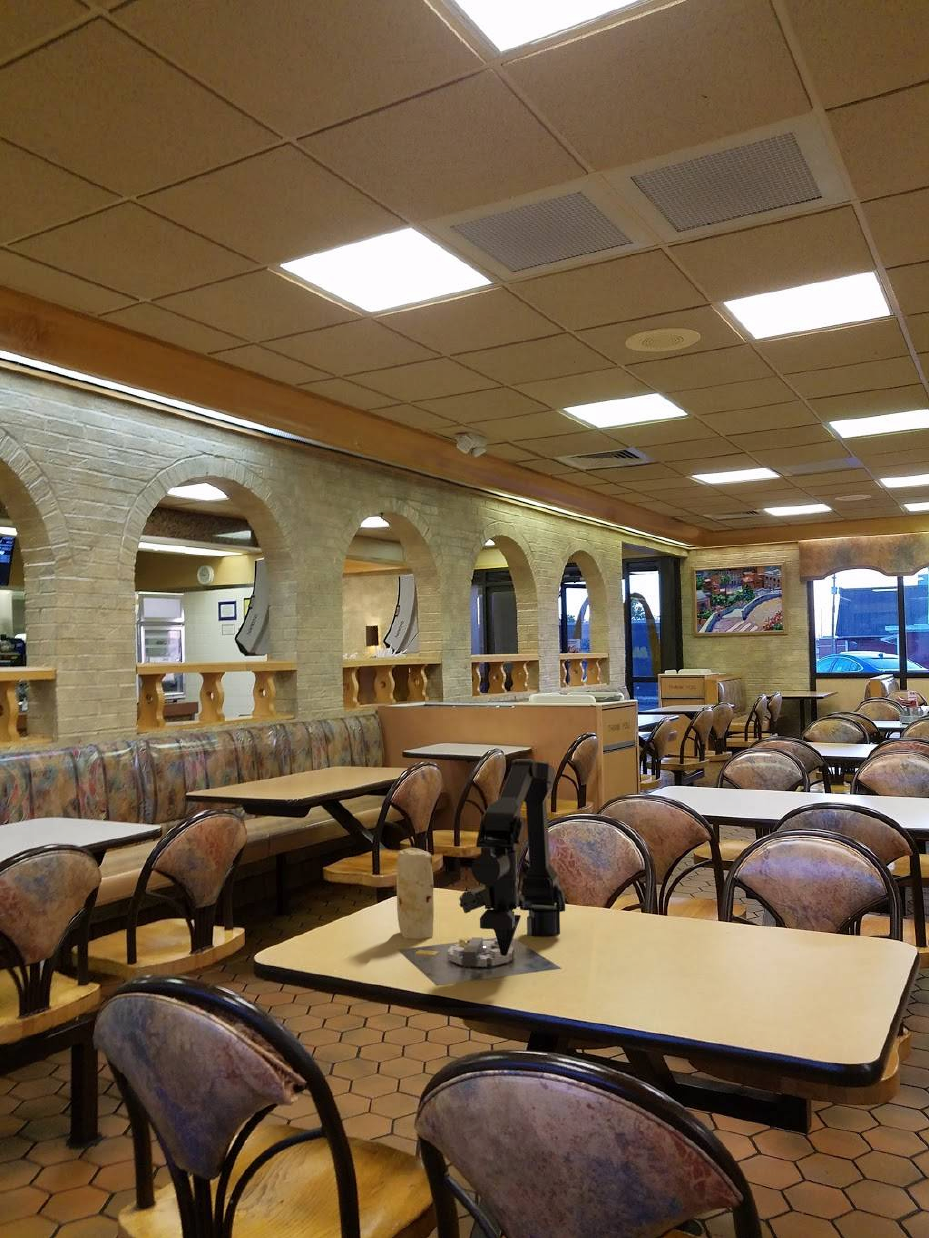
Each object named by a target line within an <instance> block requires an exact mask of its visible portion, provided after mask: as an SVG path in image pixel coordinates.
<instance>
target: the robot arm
mask: <svg viewBox="0 0 929 1238" xmlns="http://www.w3.org/2000/svg"><path fill="white" fill-rule="evenodd" d="M555 773H556V771H555V768H554V767H553V766H552V765H550V763H549V761H536V760H534V759H532V758H531V759H524V758H522V759H518V758H517V759H516V758H515V759H514V760H511V763H510V771H509V774H508V776H507V779H506V780H505V783H504V786H503V788H502V790H501V793H500V795H499V798H498V800H496V801H494V802H493V803H491V804H489V806H487V809H486V810H485V812H484V814H483V815H482V817H481V820H480V824H479V828H478V834H477V838H476V839H477V840H476V844H475V846H476V848H480V854H478V856H476V857H475V858H474V859H473V861H472V864H471V867H470V869H471V875H472V876H473V878H474V880H475V881H477V882H478V883H479V884H481V885H484V886H480V887H478V888H473V889H469V890H468V891H463V893H462V894H461V895H460V896H459V907H460V908H462V910H463V913H464V914H468V913H471V911H473V910H477V909H479V908H482V907H484V909H485V910H484V912H483V913H482V915H481V916H480V917H479V928H480V929H482V930H493V931H494V934H495V938H497V941H498V945H499V949H500V953H501V955H502V956H506V955H507V954H508V951H509V948H510V945H511V942H512V939H513V938H514V937H515V935H516V931H517V928H518V925H519V922H520V919H521V917H522V916H521V915H520V914H515V911H514V910H516V909H517V908H519V909H520V911H528V916H527V917H526V932H527V933H526V934H527V935H528V936H529V937H532V938H533V937H536V938H537V937H539V938H540V937H543V938H544V937H545V938H546V937H547V938H548V937H550V938H551V937H555V936H557V935H560V934H561V922H560V921H561V917H560V916H561V915H560V913H561V912H563V913H564V912H566V897H565V895H564V892H563V890H562V887H561V885H560V884H559V875H558V873H557V872H556V870H555V869H554V868H553V865H552V864H551V860H550V840H549V839H550V837H549V824H548V823H549V821H548V805H547V804H548V803H547V799H548V797H549V796H550V794H551V792H552V790H553V788H554V782H555V778H556V775H555ZM524 802H525V812H526V813H525V814H526V829H527V847H528V849H527V850H528V864H529V865H528V867H529V868H528V869H527V870H526V872H525V875H524V876H523V877H522V878H523V879H522V881H521V883H522V885H521V889H520V892H519V893H518V885H519V883H520V878H519V877H518V861H517V860H518V858H517V856H518V854H517V852H518V851H517V848H518V845H520V843H521V838H522V835H523V831H524V827H525V825H524V822H523V818H522V817H521V816H522V815H521V809H522V807H523V804H524Z"/></svg>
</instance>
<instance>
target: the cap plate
mask: <svg viewBox="0 0 929 1238" xmlns="http://www.w3.org/2000/svg"><path fill="white" fill-rule="evenodd" d="M494 940H497V938H496V937H492V938H491V937H490V938H483V941H494ZM454 944H459V941H458V942H449V943H441V944H433V945H426V946H425V945H424V946H417V947H409V948H407V947H406V948H401V949H400V948H399V949H398V948H397V951H398V952H399V953H400V954H402V956H404V957H405V958H406V959H407V960H408V961H409V962H410V963H411V964H412V965H414V967H416V968H417V969H418V970H419V971H420V972H421V973H422V974H424V975H425V976H426V978H428V979H429V980H430V981H431V982H432V983H433V984H434V985H435V986H441V985H442V986H443V985H449V984H457V983H465V982H472V981H479V980H480V981H481V980H487V979H492V978H493V979H494V978H501V977H502V978H503V977H510V976H516V975H523V974H524V975H525V974H531V973H539V972H546V971H552V970H553V971H555V970H562V967H560V966H559V965H558V964H556V963H554V962H552V961H551V960H549V959H548V958H546V957H544V956H543V955H541V954H540V953H538V952H537V951H535V950H533V949H532V948H530V947H528V946H526V944H523V943H522V942H520V941H519V940H517V939H516V938H514V937H513V939H512V942H511V946H513V947H514V956H513V958H512V961H509V962H507V963H502V964H498V965H494V966H490V965H487V966H463V965H460V964H457V963H455V962H452V961H450V960H448V959H447V951H448V950H449V948H450V947H451V946H454ZM491 949H492V947H491V945H490V944H486V943H483V952H482V953H481V955H488V954H489V950H491Z"/></svg>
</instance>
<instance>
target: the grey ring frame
mask: <svg viewBox="0 0 929 1238" xmlns="http://www.w3.org/2000/svg"><path fill="white" fill-rule="evenodd" d="M483 939H484V937H473V936H472V937H471V938H469V937H463V938H459V941H458V942H459V944H454V946H451V947H450V948H449V950H448V951H447V959H448V960H450V961H452V962H455V963H457V964H460V965H463V966H487V965H490V966H494V965H498V964H502V963H507V962H509V961H512V958H513V956H514V947H513V946H511V945H510V948H509V951H508V954H507V955H506V956H502V955H501V953H500V949H499V945H498V941H497V940H494V941H483ZM483 943H486V944H490V945H491V947H492V949H491V950H489V954H488V955H481V953H482V952H483Z"/></svg>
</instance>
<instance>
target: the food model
mask: <svg viewBox="0 0 929 1238" xmlns="http://www.w3.org/2000/svg"><path fill="white" fill-rule="evenodd" d="M432 859H433V858H432V854H431V853H430V852H429V851H425V850H423V849H421V848H418V847H417V848H416V847H408V848H404V849H402V850H401V849H400V850H399V851H398V853H397V866H396V906H397V907H396V908H397V909H396V910H397V911H396V912H397V920H398V921H397V922H398V927H399V931H400V932H399V933H400V934H401V935H402V937H403V938H406V939H414V940H416V939H417V940H418V939H419V940H420V939H430V938H433V936H434V919H435V918H434V916H435V909H434V908H435V906H434V905H435V904H434V875H433V862H432V861H433V860H432Z"/></svg>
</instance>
